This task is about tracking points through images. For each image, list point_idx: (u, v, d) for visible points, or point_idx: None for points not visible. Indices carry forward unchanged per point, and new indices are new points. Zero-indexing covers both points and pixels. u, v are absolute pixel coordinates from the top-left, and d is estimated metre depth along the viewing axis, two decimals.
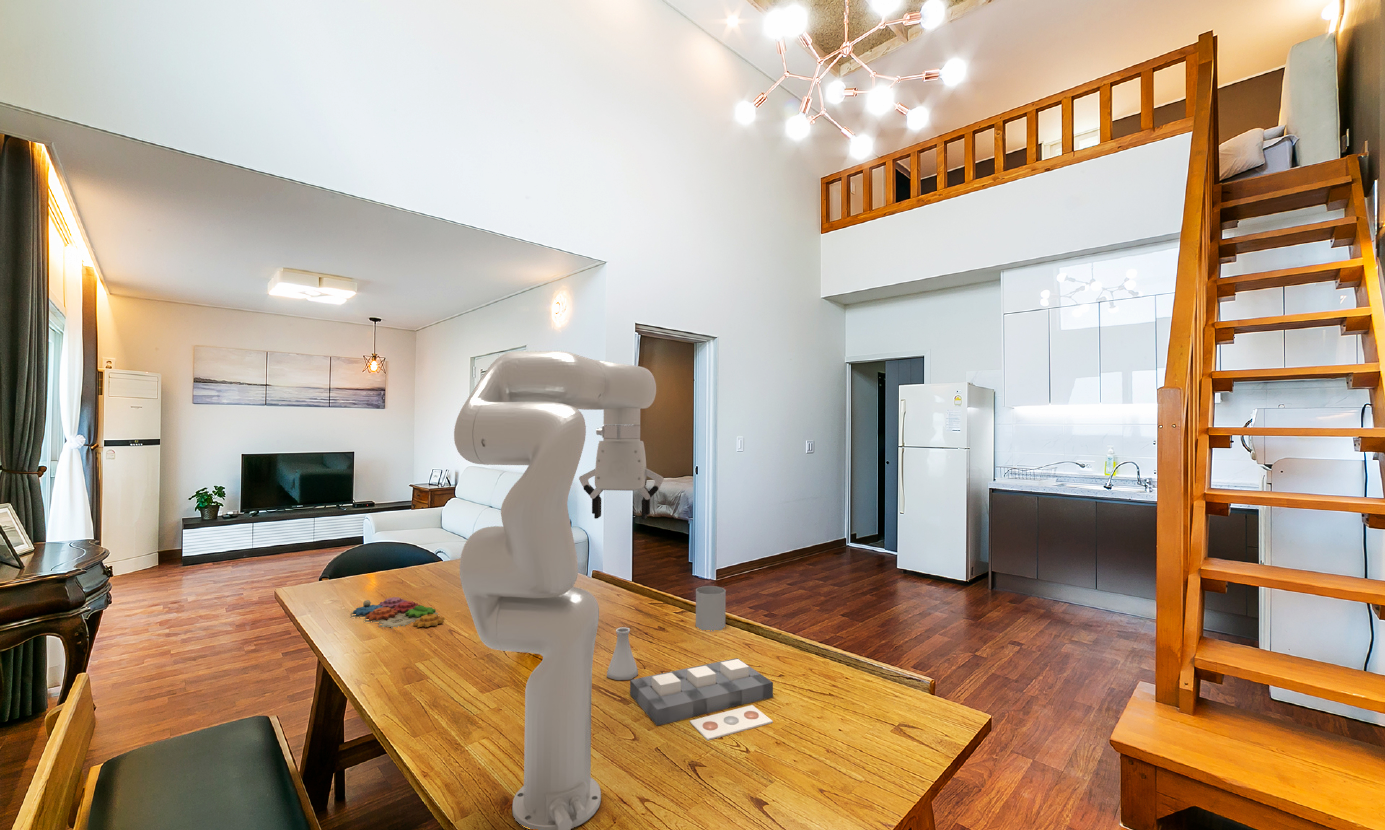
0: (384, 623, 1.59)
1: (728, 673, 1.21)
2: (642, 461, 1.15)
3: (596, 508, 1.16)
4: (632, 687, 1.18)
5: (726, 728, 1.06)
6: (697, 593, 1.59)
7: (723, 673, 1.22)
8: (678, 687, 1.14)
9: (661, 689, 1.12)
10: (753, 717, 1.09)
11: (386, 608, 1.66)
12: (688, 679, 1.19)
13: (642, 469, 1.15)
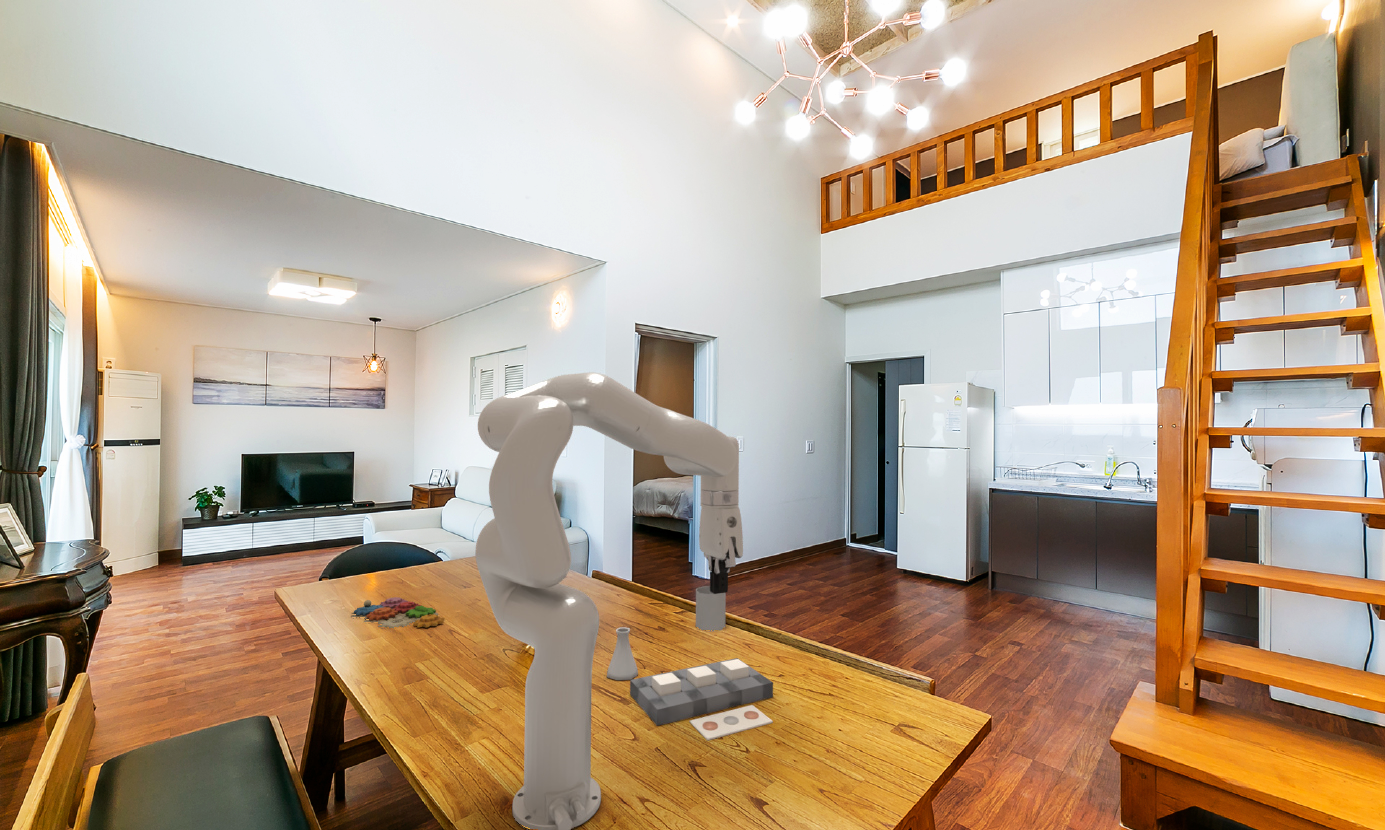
0: (384, 623, 1.59)
1: (728, 673, 1.21)
2: None
3: None
4: (632, 687, 1.18)
5: (726, 728, 1.06)
6: (697, 593, 1.59)
7: (723, 673, 1.22)
8: (678, 687, 1.14)
9: (661, 689, 1.12)
10: (753, 717, 1.09)
11: (386, 608, 1.66)
12: (688, 679, 1.19)
13: None
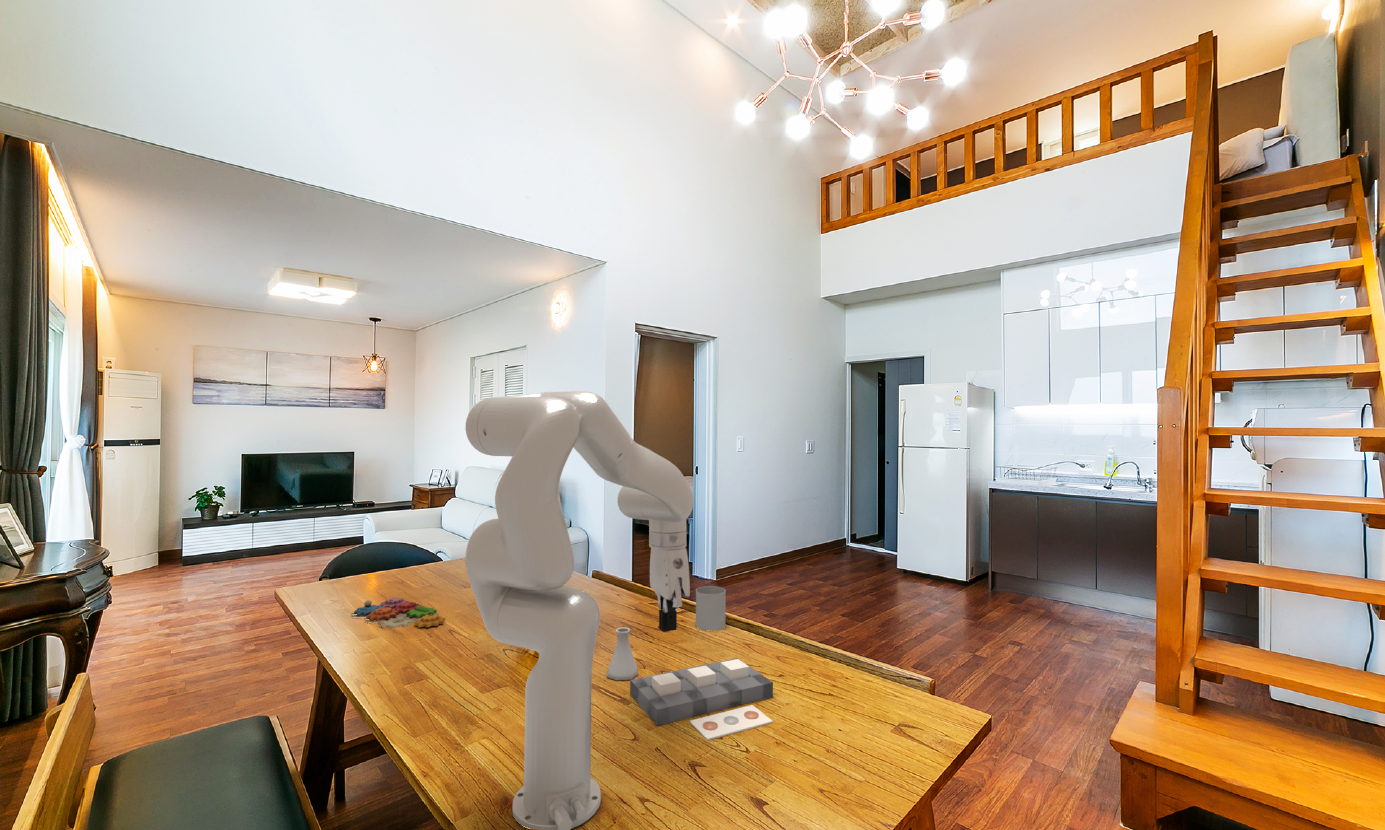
0: (385, 623, 1.59)
1: (728, 673, 1.21)
2: None
3: None
4: (632, 687, 1.18)
5: (726, 728, 1.06)
6: (697, 593, 1.59)
7: (723, 673, 1.22)
8: (678, 687, 1.14)
9: (661, 689, 1.12)
10: (753, 717, 1.09)
11: (387, 608, 1.66)
12: (688, 679, 1.19)
13: None
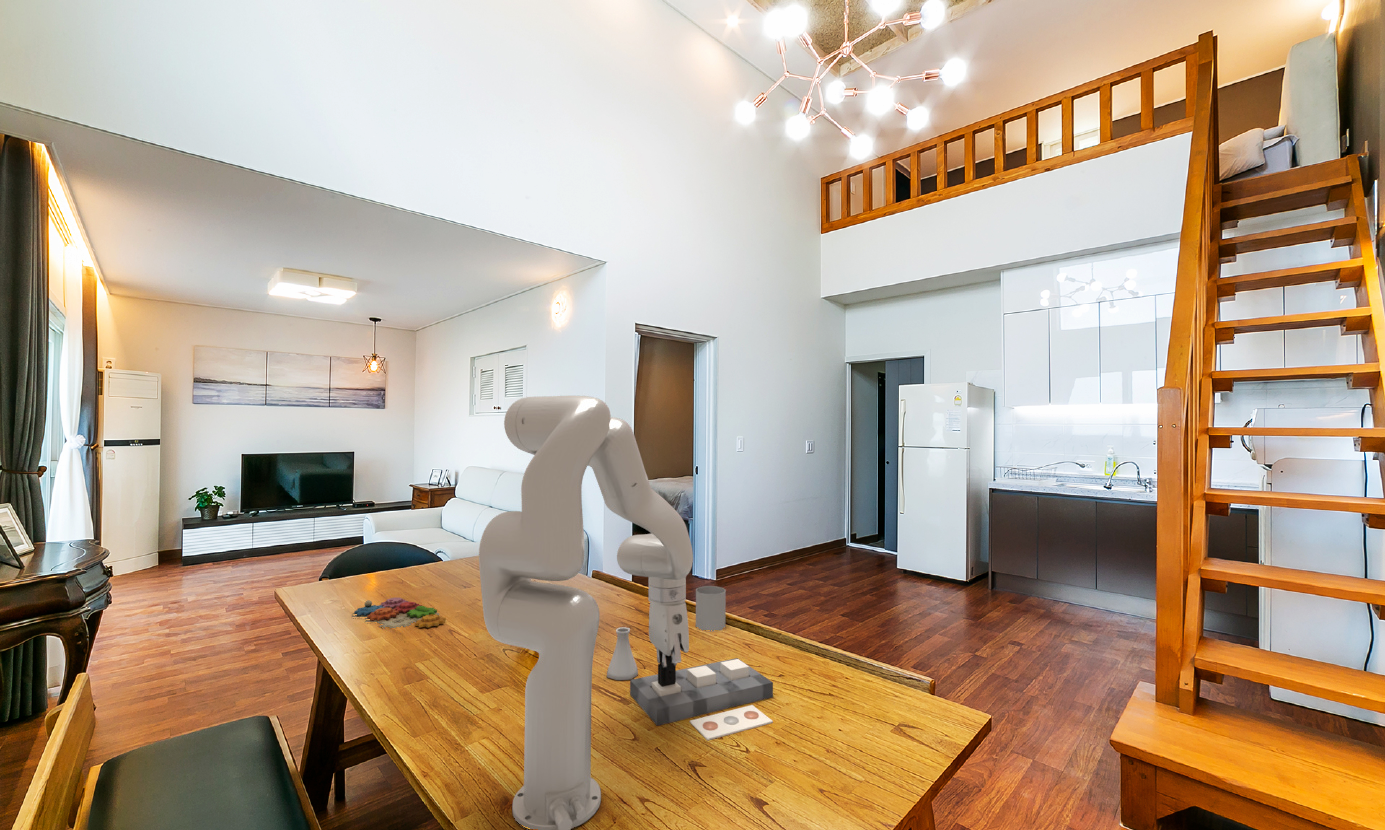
0: (385, 623, 1.59)
1: (728, 673, 1.21)
2: None
3: None
4: (632, 687, 1.18)
5: (726, 728, 1.06)
6: (697, 593, 1.59)
7: (723, 673, 1.22)
8: None
9: (661, 694, 1.12)
10: (753, 717, 1.09)
11: (387, 608, 1.66)
12: (688, 679, 1.19)
13: None
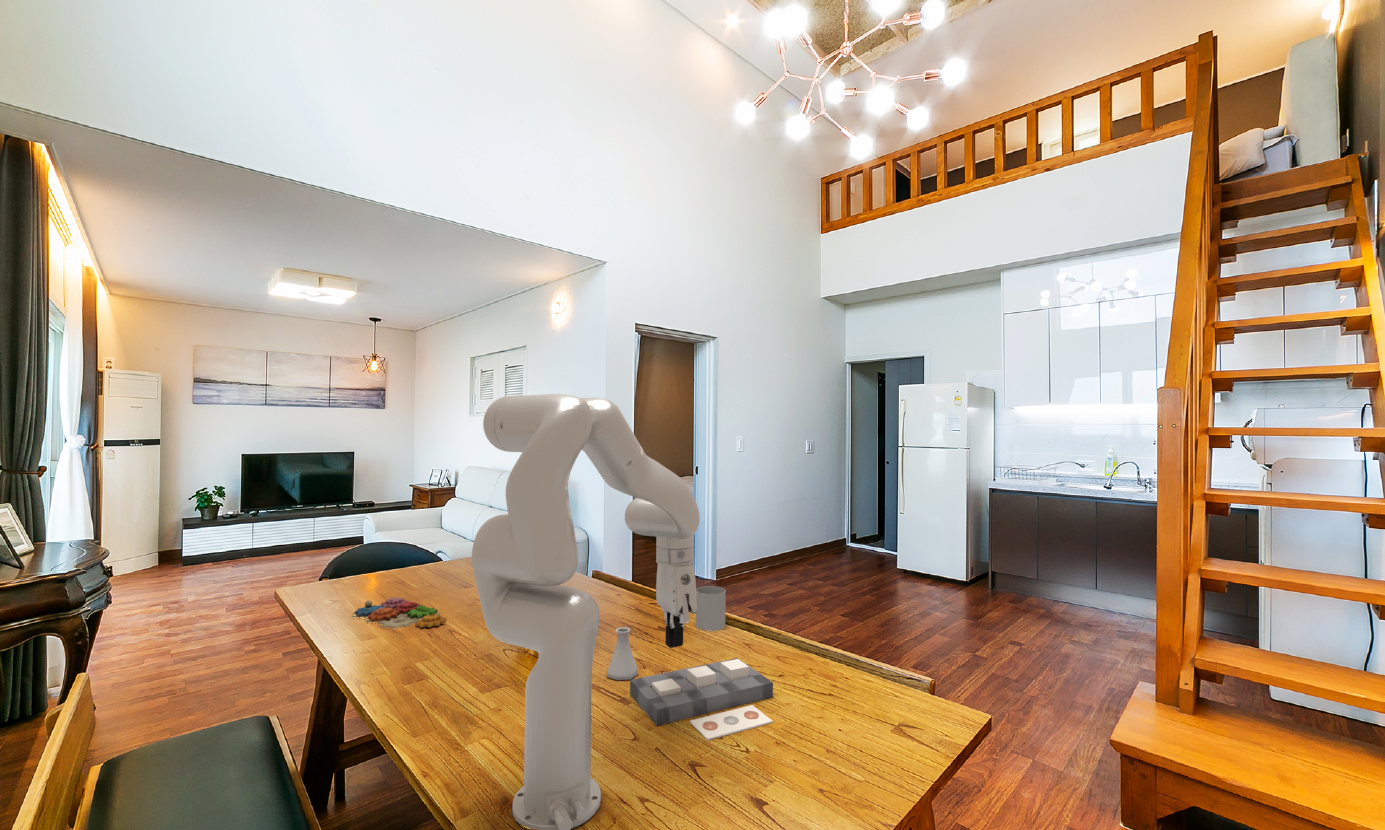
0: (386, 623, 1.59)
1: (728, 673, 1.21)
2: None
3: None
4: (632, 687, 1.18)
5: (726, 728, 1.06)
6: (697, 593, 1.59)
7: (723, 673, 1.22)
8: None
9: (661, 695, 1.12)
10: (753, 717, 1.09)
11: (388, 608, 1.66)
12: (688, 679, 1.19)
13: None
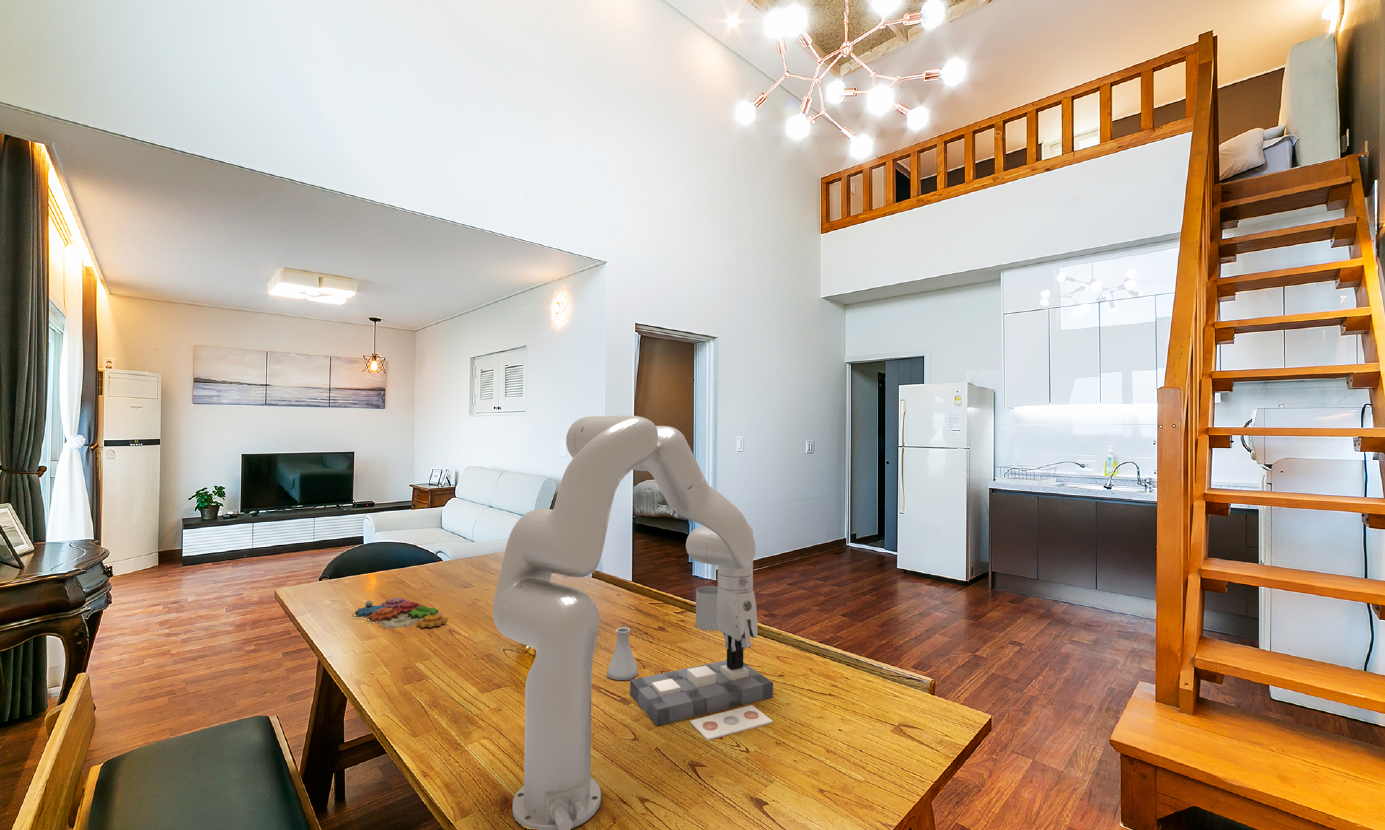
0: (387, 623, 1.59)
1: (728, 677, 1.21)
2: None
3: None
4: (632, 687, 1.18)
5: (726, 728, 1.06)
6: (697, 593, 1.59)
7: None
8: None
9: (661, 695, 1.12)
10: (753, 717, 1.09)
11: (389, 608, 1.66)
12: (688, 679, 1.19)
13: None
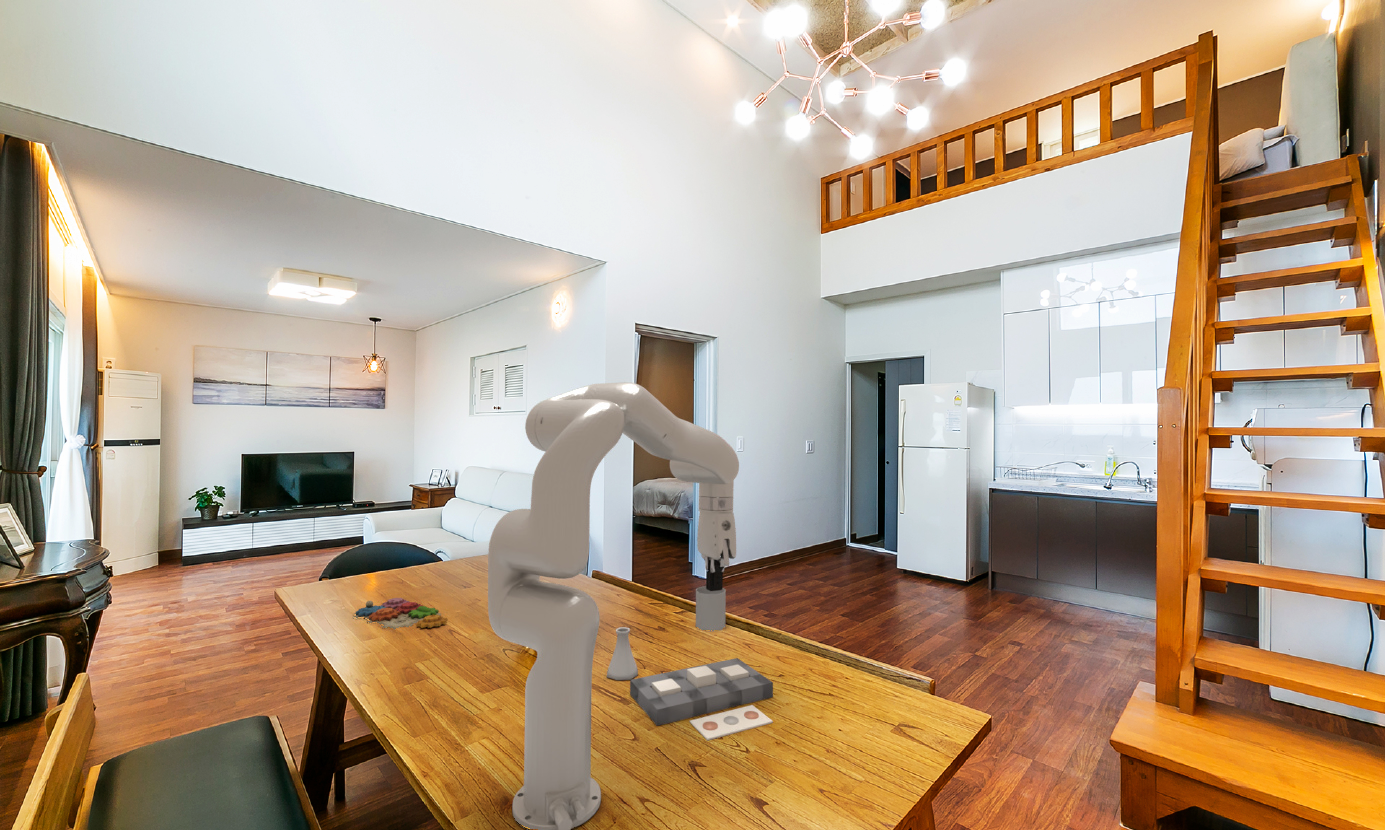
0: (387, 624, 1.59)
1: None
2: None
3: None
4: (632, 687, 1.18)
5: (726, 728, 1.06)
6: (697, 593, 1.59)
7: None
8: None
9: (661, 695, 1.12)
10: (753, 717, 1.09)
11: (389, 609, 1.65)
12: (688, 679, 1.19)
13: None
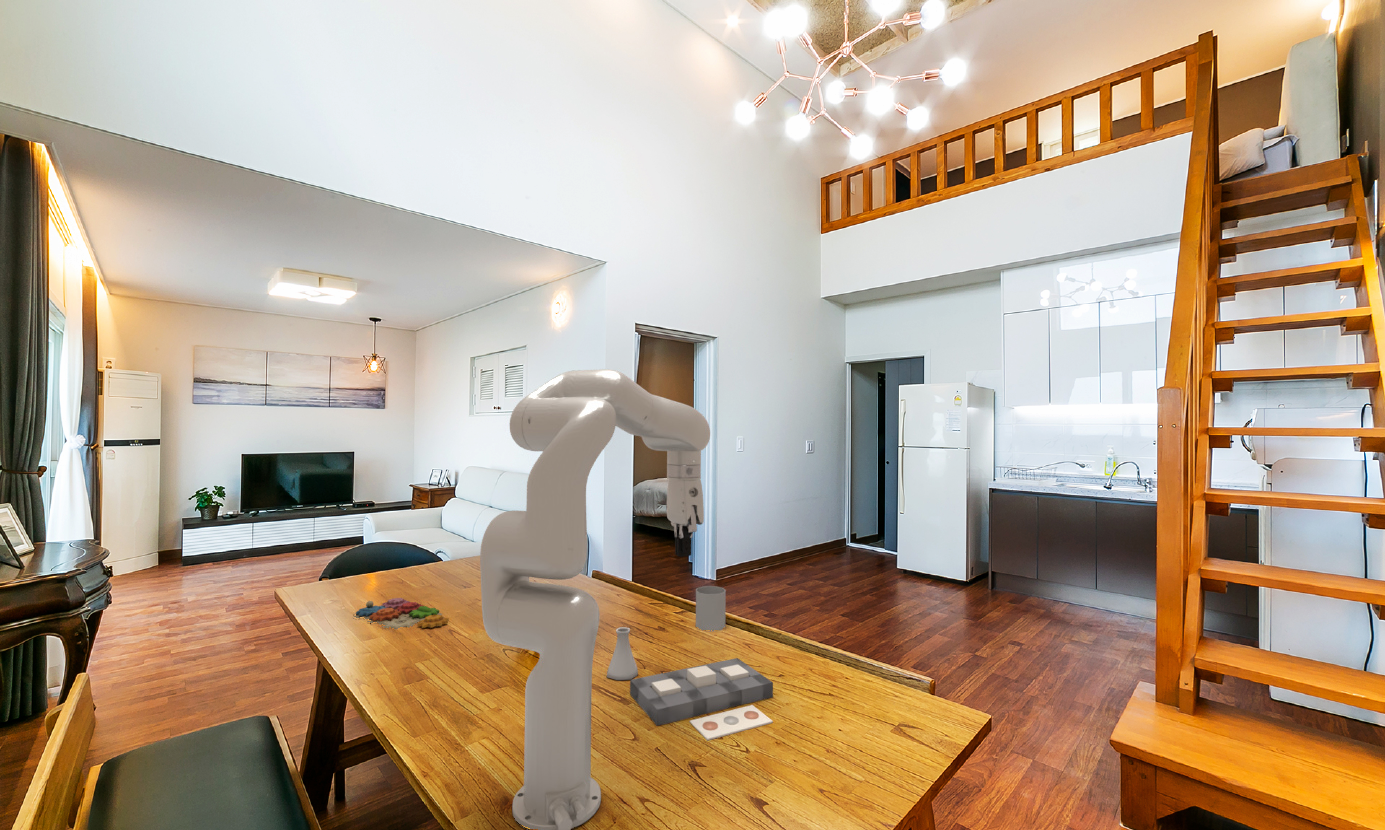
0: (388, 624, 1.59)
1: None
2: None
3: None
4: (632, 687, 1.18)
5: (726, 728, 1.06)
6: (697, 593, 1.59)
7: None
8: None
9: (661, 695, 1.12)
10: (753, 717, 1.09)
11: (389, 609, 1.65)
12: (688, 679, 1.19)
13: None
